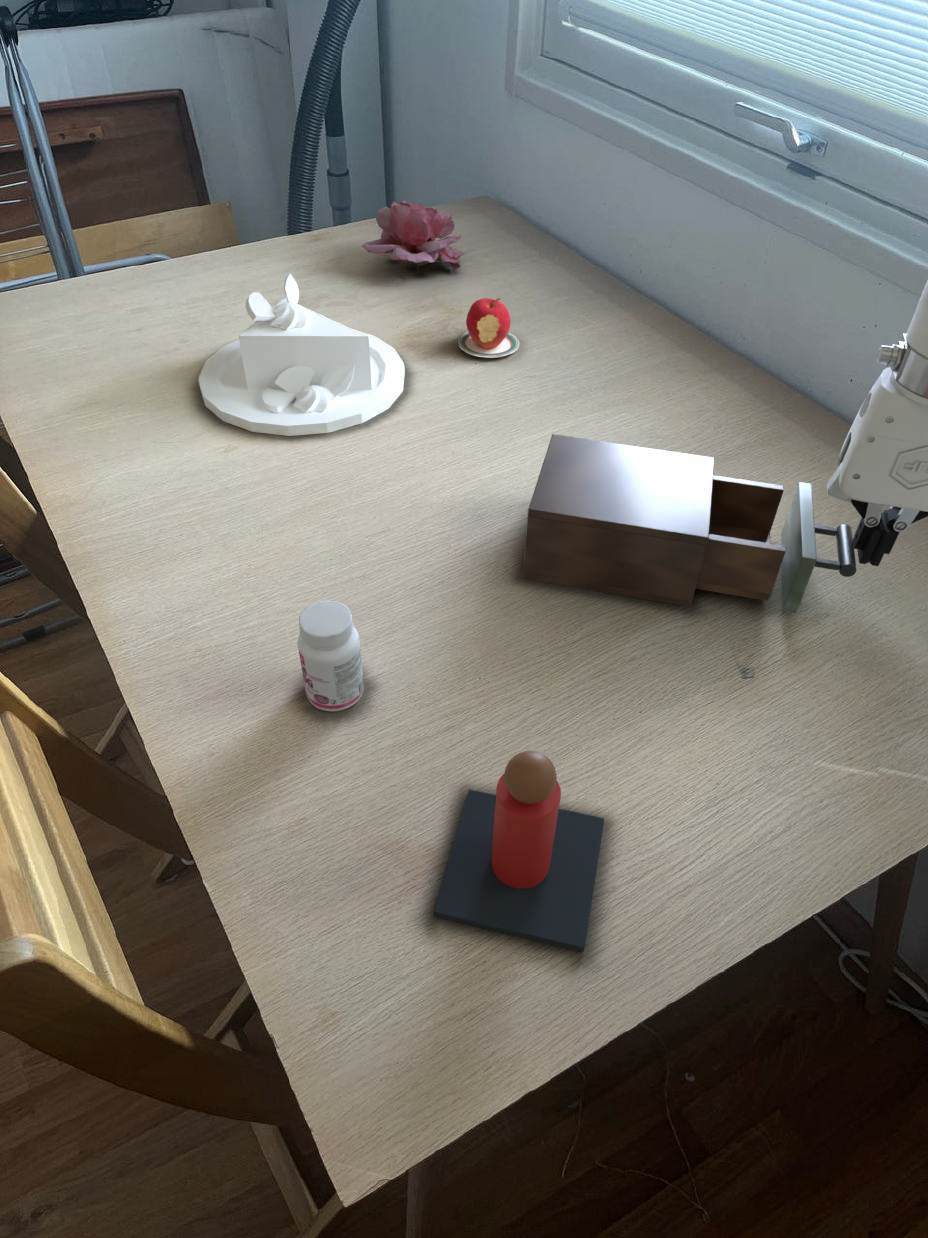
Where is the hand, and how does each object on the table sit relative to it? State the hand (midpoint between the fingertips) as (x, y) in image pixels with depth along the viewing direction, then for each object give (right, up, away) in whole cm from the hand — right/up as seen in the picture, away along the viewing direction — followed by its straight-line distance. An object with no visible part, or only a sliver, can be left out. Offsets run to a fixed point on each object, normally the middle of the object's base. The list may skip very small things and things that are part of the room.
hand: (867, 554), depth 79 cm
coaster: (-32, -23, -18) cm, 44 cm away
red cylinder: (-32, -23, -19) cm, 44 cm away
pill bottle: (-47, -12, -7) cm, 49 cm away
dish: (-56, +23, +29) cm, 68 cm away
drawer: (-10, -1, +4) cm, 11 cm away
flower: (-44, +47, +54) cm, 84 cm away
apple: (-33, +30, +37) cm, 58 cm away
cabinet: (-22, +1, +6) cm, 23 cm away
